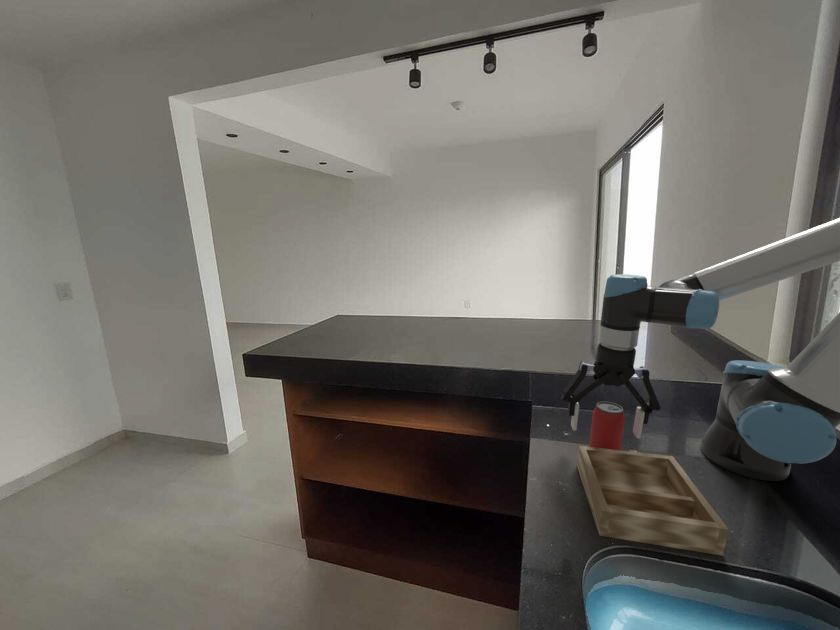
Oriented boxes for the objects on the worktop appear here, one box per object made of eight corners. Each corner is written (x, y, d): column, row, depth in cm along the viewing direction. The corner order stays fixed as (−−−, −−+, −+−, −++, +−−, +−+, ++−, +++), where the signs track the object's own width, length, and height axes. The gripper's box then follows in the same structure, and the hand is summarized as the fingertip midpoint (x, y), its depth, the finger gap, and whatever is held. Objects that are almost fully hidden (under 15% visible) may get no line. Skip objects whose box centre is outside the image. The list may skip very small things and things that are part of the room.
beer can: (624, 463, 80) (630, 415, 77) (593, 460, 81) (598, 412, 79) (614, 446, 86) (620, 401, 84) (585, 443, 88) (590, 399, 85)
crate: (669, 477, 75) (672, 456, 74) (723, 555, 57) (728, 529, 56) (576, 465, 79) (578, 445, 78) (599, 535, 61) (602, 510, 60)
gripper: (672, 344, 79) (657, 429, 84) (554, 336, 84) (546, 416, 89) (689, 355, 72) (671, 448, 77) (559, 345, 77) (550, 433, 82)
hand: (604, 431), depth 83 cm, fingers open, 13 cm apart
